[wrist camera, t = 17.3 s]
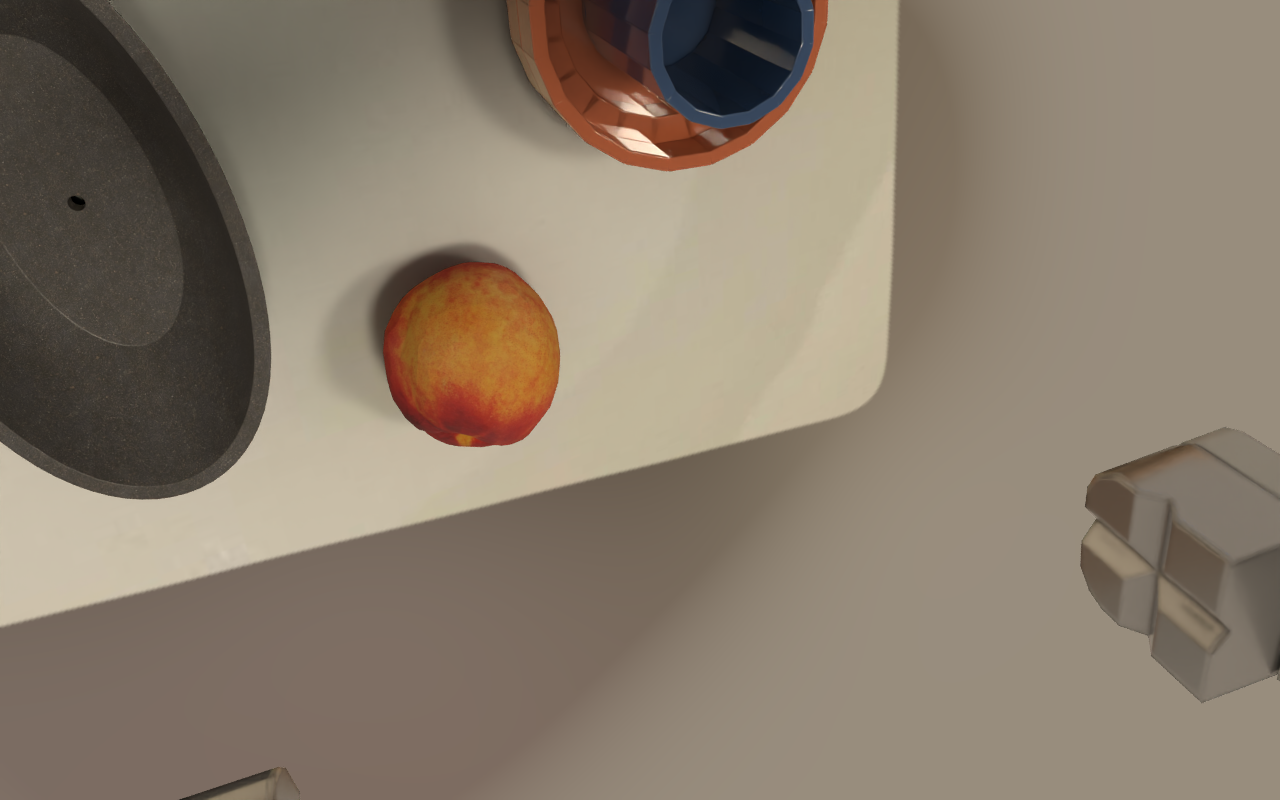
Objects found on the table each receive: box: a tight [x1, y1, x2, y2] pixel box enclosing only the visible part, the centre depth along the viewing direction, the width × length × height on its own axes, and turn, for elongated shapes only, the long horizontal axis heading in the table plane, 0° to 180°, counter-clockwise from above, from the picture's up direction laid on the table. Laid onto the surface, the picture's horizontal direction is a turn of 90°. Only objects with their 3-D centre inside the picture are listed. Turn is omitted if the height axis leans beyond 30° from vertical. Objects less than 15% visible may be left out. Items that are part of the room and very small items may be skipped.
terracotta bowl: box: [507, 0, 828, 171], centre depth 41 cm, size 12×12×5 cm
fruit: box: [383, 262, 560, 447], centre depth 45 cm, size 8×8×8 cm
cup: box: [581, 0, 814, 129], centre depth 39 cm, size 6×6×9 cm
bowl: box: [0, 0, 271, 499], centre depth 38 cm, size 12×22×6 cm, turn 10°
